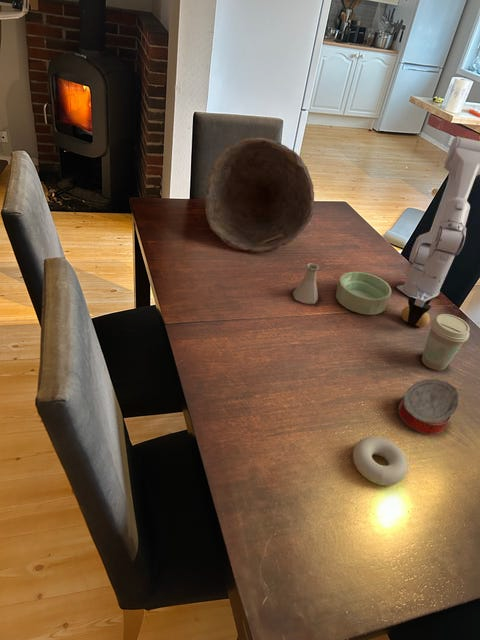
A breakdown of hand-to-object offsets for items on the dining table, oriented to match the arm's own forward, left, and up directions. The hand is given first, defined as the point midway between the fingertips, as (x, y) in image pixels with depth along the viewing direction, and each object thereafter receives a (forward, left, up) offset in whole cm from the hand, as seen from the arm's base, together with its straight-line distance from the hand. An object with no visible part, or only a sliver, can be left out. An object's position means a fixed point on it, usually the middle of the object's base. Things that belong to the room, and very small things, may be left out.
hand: (415, 316), depth 126 cm
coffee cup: (+8, +14, -2) cm, 16 cm away
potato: (0, 0, -2) cm, 2 cm away
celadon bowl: (+7, -14, -2) cm, 15 cm away
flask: (+21, -21, -2) cm, 30 cm away
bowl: (+13, -56, -2) cm, 58 cm away
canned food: (+25, +25, -2) cm, 35 cm away
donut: (+43, +30, -2) cm, 52 cm away
